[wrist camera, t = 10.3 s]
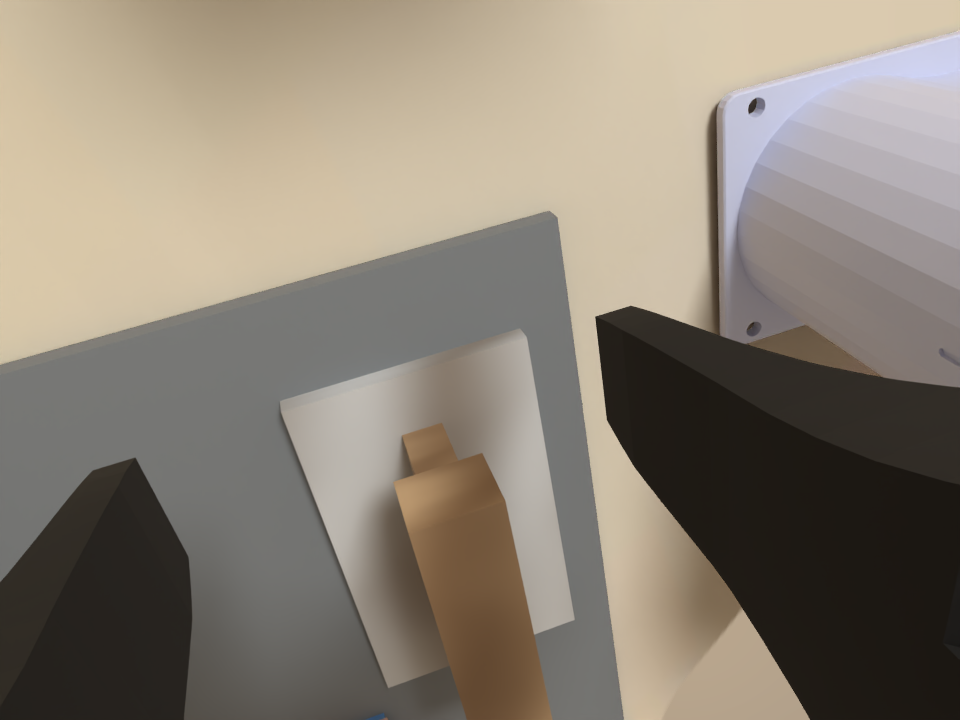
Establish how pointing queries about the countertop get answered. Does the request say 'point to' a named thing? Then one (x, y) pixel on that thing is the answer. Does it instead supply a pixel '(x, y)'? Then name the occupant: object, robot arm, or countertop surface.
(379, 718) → the tile
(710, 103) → the countertop surface
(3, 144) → the countertop surface
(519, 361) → the trowel
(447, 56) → the countertop surface
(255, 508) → the mat
